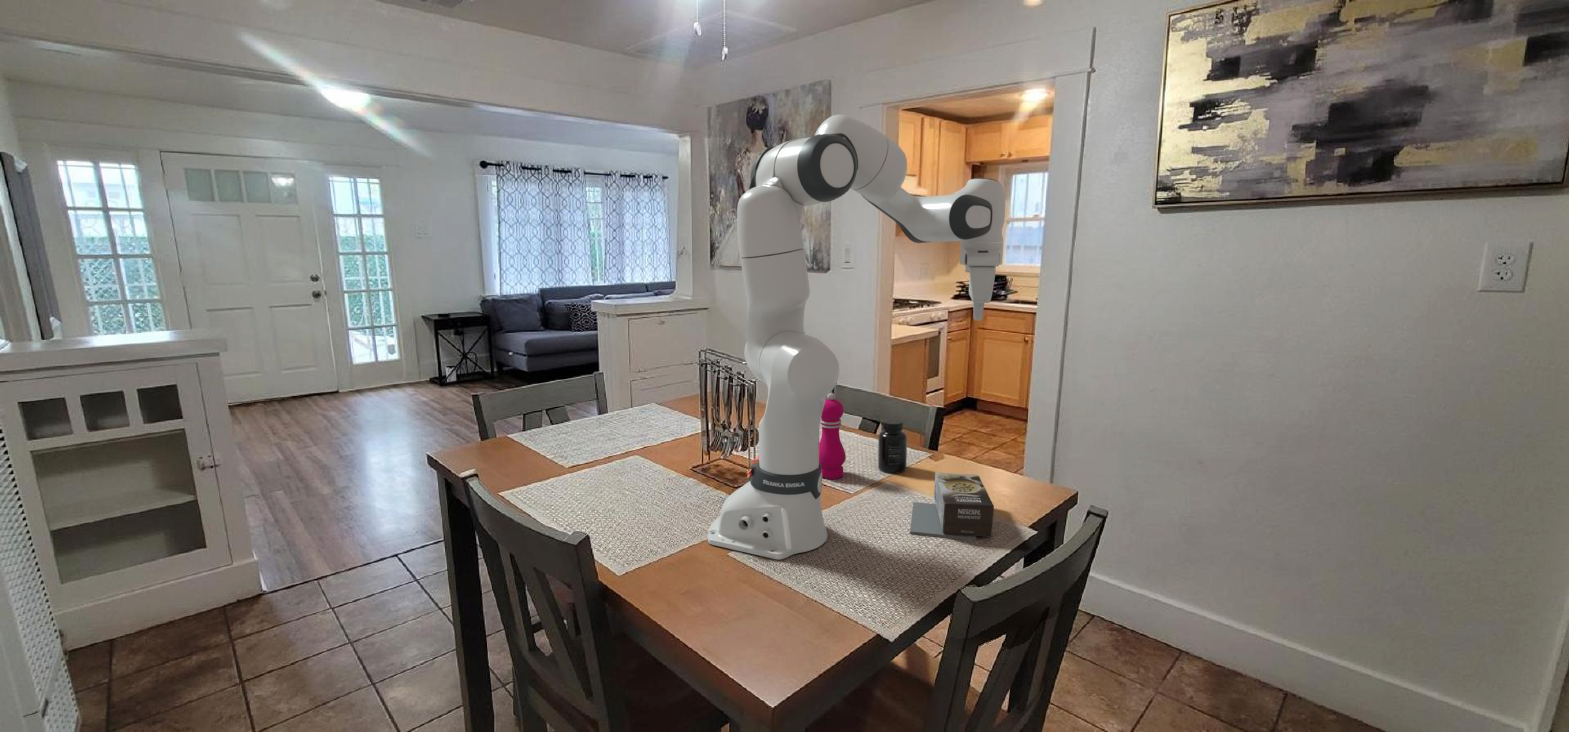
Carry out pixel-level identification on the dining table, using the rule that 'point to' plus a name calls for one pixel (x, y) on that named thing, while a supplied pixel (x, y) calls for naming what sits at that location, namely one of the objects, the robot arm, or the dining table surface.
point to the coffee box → (963, 505)
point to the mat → (930, 522)
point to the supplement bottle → (892, 447)
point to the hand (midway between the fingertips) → (977, 319)
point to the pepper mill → (831, 439)
